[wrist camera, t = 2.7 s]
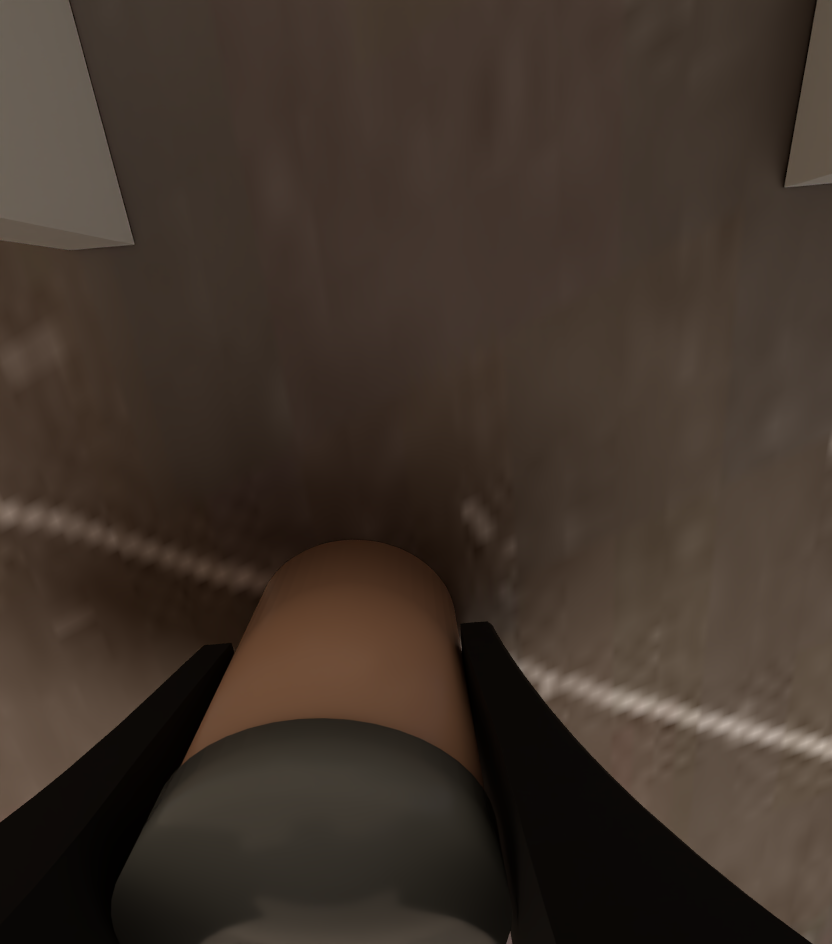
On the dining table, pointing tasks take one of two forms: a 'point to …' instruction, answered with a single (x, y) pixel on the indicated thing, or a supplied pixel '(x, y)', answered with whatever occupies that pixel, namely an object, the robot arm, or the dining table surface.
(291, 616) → the terracotta jar
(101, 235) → the u-frame with teal panels
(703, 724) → the dining table surface
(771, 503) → the dining table surface
